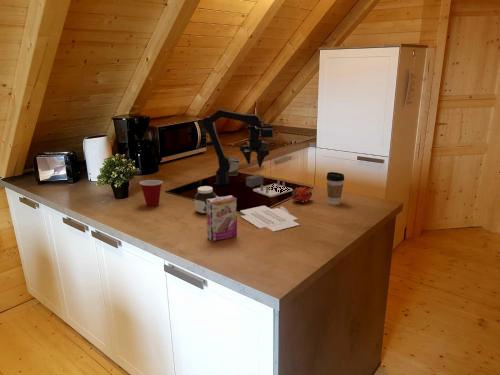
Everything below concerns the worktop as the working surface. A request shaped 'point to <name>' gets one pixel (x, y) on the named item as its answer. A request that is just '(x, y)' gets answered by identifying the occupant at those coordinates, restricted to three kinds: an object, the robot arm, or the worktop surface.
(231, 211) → the candy bar box
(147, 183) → the plastic cup
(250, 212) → the paper stack
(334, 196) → the coffee cup
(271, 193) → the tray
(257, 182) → the drive
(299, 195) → the dragon fruit
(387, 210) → the worktop surface
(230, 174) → the food container
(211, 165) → the worktop surface
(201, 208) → the spread jar
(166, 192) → the worktop surface
